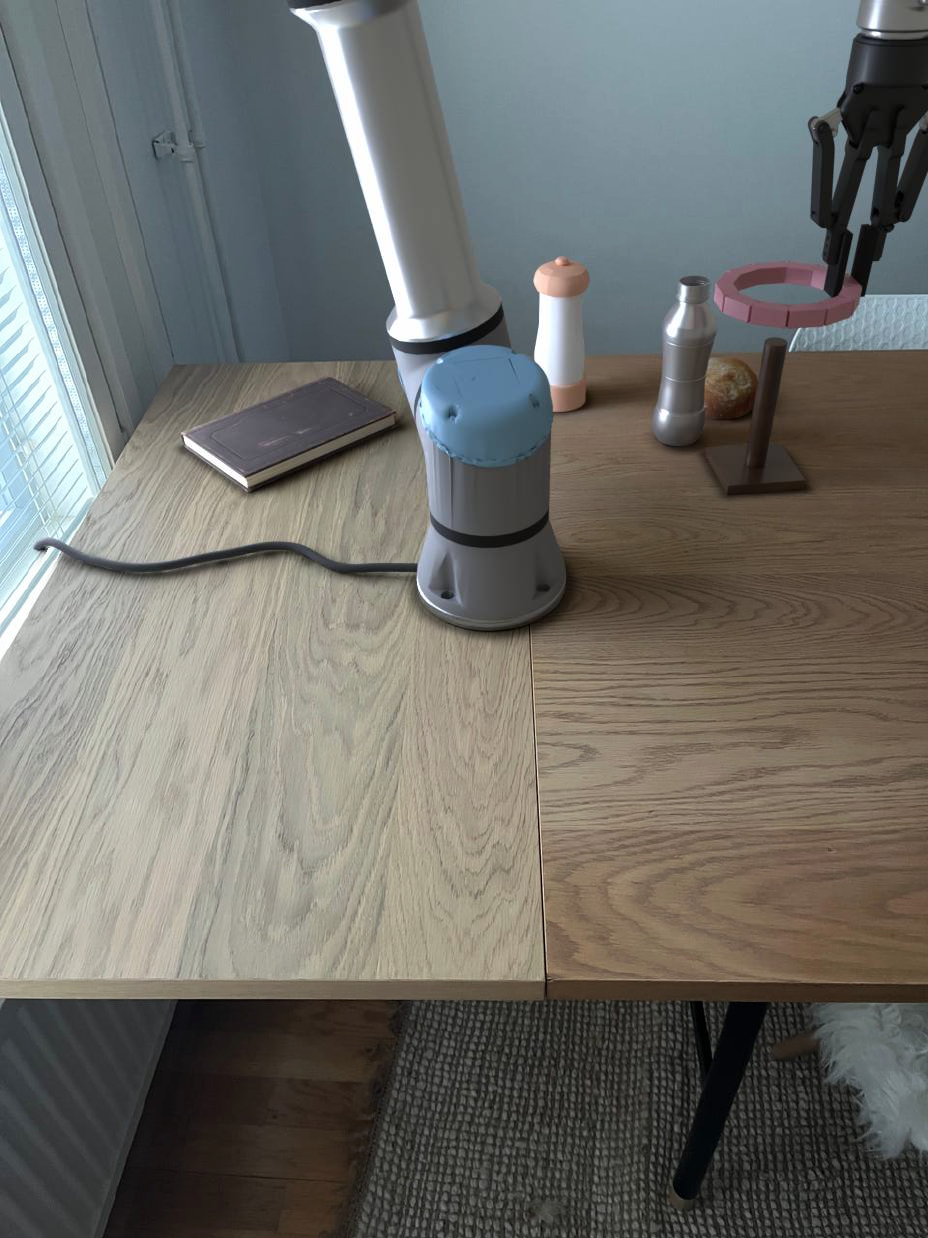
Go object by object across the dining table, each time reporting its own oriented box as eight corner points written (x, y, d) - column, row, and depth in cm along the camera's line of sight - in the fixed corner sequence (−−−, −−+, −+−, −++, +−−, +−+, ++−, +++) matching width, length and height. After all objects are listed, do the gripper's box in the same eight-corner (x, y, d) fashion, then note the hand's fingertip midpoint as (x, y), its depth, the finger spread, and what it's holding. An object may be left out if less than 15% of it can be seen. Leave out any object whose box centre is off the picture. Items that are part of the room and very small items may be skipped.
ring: (734, 332, 94) (736, 314, 93) (702, 282, 105) (704, 266, 104) (877, 323, 94) (881, 305, 93) (830, 274, 105) (833, 257, 104)
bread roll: (674, 416, 131) (658, 373, 126) (733, 372, 131) (720, 327, 126) (718, 447, 124) (702, 403, 119) (780, 401, 124) (768, 354, 119)
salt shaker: (526, 409, 127) (526, 265, 115) (538, 385, 133) (540, 245, 120) (579, 414, 125) (585, 269, 113) (590, 390, 131) (597, 249, 119)
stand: (726, 494, 109) (747, 362, 99) (705, 455, 116) (723, 327, 106) (803, 489, 109) (832, 356, 99) (778, 450, 116) (802, 322, 106)
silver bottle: (642, 446, 118) (657, 287, 106) (660, 422, 123) (676, 267, 110) (693, 456, 116) (714, 295, 103) (709, 432, 120) (731, 274, 108)
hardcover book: (397, 426, 125) (396, 410, 124) (247, 492, 114) (244, 476, 112) (328, 388, 135) (326, 373, 133) (183, 446, 123) (179, 430, 122)
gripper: (831, 43, 81) (785, 311, 96) (1003, 32, 82) (930, 301, 97) (801, 30, 87) (762, 285, 102) (961, 19, 87) (899, 275, 102)
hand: (843, 292), depth 99 cm, fingers closed on ring, 2 cm apart
